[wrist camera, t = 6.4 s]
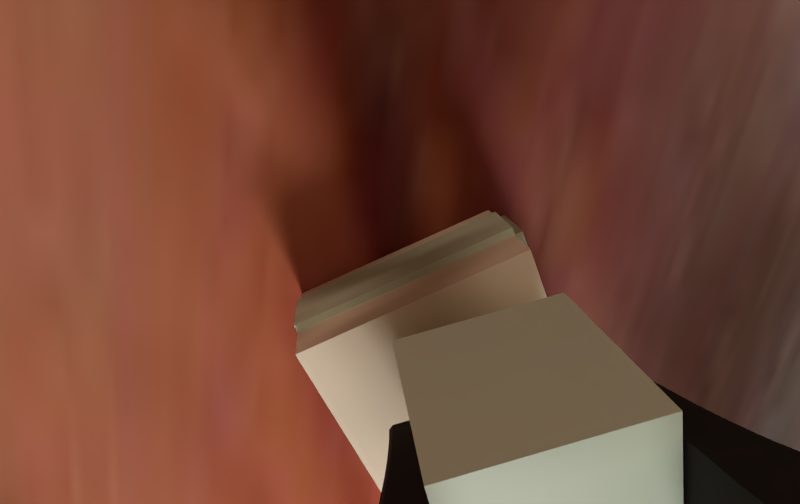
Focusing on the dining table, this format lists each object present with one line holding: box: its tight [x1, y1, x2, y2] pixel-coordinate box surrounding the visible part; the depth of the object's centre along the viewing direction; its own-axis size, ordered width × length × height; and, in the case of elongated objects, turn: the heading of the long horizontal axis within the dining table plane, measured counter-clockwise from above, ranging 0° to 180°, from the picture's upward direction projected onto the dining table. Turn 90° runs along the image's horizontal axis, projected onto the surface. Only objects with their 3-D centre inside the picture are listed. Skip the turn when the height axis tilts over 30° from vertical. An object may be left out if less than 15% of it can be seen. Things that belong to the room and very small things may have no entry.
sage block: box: [392, 293, 684, 504], centre depth 11 cm, size 4×4×4 cm
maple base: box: [294, 210, 547, 492], centre depth 16 cm, size 7×7×4 cm
